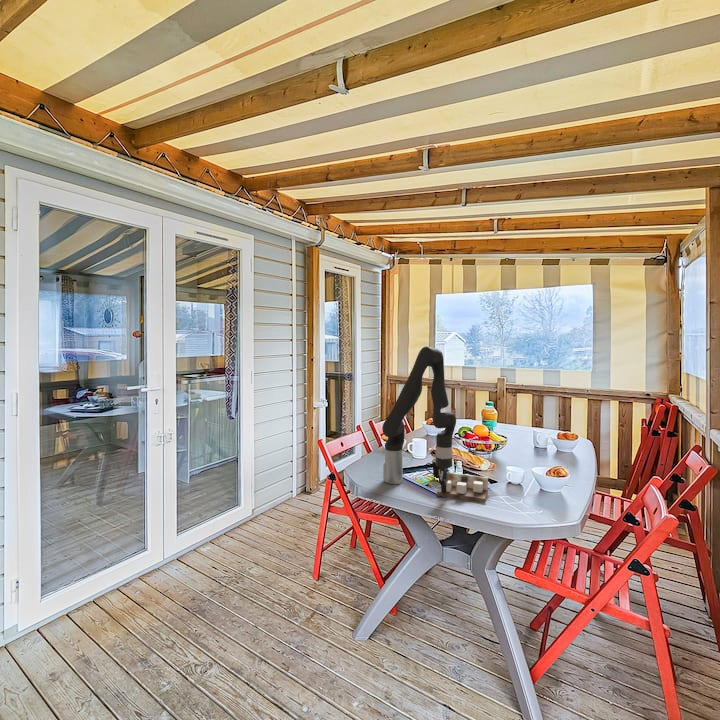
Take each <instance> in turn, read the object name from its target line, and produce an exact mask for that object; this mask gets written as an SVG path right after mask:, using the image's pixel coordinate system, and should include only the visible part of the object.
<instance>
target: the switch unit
mask: <svg viewBox="0 0 720 720" xmlns="http://www.w3.org/2000/svg"><path fill="white" fill-rule="evenodd" d="M448 480H449V481H452V489H451V491H450V492H446V493H441V485H439V487H438V489H437V491H436V496H437V497H443V498H449V499H456V500H461V501H463V500H464V501H469V502H475V503H484V504H486V501H487V499H488V498H487V497H488V494H489V477H488V476H480V475H473V474H465V473H456V472H451V471H449V476H448ZM474 481H481V482H483V491H482V493H479V492H473V483H474ZM458 482H464V483H467V490H466V493H465V494H461V493H456V488H457V483H458Z"/></svg>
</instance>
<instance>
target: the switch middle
mask: <svg viewBox="0 0 720 720" xmlns="http://www.w3.org/2000/svg"><path fill="white" fill-rule="evenodd" d="M466 490H467V483H464V482H458V483H457V488H456V493H461V494H465V493H466Z"/></svg>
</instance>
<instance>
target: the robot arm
mask: <svg viewBox="0 0 720 720" xmlns="http://www.w3.org/2000/svg"><path fill="white" fill-rule="evenodd" d="M444 362H445V361H444V355H443V352H442V351H441V350H440V349H439V348H434V347H431V346H423V347H422V348H421V349H420V350H419V352H418V354H417V356H416V359H415V361H414V364H413V367H412V369H411V371H410V372H409V376H408V378H407V380H406V381H405V383H404V385H403V386H402V389H401V391H400V393H399V395H398V397H397V399H396V401H395V404H394V405H393V407H392V409H391V410H390V412H389V414H388V415H387V417H386V419H385V420H384V422H383V423H382V429H381V430H382V433H383V435H384V436H385V437H386V438H387V440H386V442H385V443H384V463H383V468H382V469H383V475H382V476H383V483H386V484H390V485H400V484H402V483H403V473H404V472H403V469H404V468H403V467H404V466H403V464H404V463H403V462H404V461H403V459H404V458H403V454H404V453H403V452H404V451H403V449H404V447H403V446H404V444H405V424H404V421H403V420H404V418H405V417H406V415H408V413H409V412H410V411H411V410H412V409H413V407H414V406H415V405H416V404H417V402H418V400H419V399H420V396H421V394H422V392H423V378H424V377H423V376H424V374H425V371H426V370H427V368H428V367H430V368H431V370H432V373H433V374H432V375H433V379H432V383H431V388H430V394H431V400H432V407H433V408H432V411H433V412H432V424H433V426H434V427H435V428H436V429H443V431H441V432H438V433H436V439H435V440H436V444H435V445H436V447H435V458H436V466H437V467H440V470H439V477H438V478H439V481H438V483H439V486H441V493H446V492H447V482H448V476H449V472H450V468H452V467H453V435H454V431H455V429H456V426H457V425H456V424H457V417H456V415H455V414H454V413H453V412H452V411H450V412H447V411H446V412H445V411H444V412H442V411H441V410H442V409H446V408H447V407H448V406H449V399H448V394H447V390H446V381H445V363H444Z"/></svg>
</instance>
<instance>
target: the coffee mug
mask: <svg viewBox="0 0 720 720" xmlns="http://www.w3.org/2000/svg"><path fill="white" fill-rule="evenodd" d="M431 462H432V463H431ZM431 462H427V463H426V464H425V467H424V468H425V470H426V471H427V472H429V473H430V474H432V476H433V478H434V477H436V478H438V477H439V470H440V467H437V466H436V457H435V458H432V459H431ZM427 465H430V466H431V467H432V471H430V470H429V469H428V468H427Z"/></svg>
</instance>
